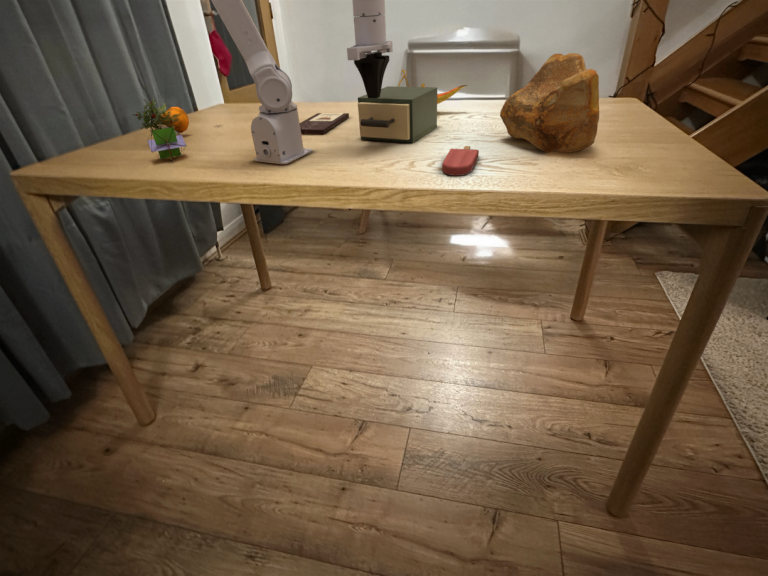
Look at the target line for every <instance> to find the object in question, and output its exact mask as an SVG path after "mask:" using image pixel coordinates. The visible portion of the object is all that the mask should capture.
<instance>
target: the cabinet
mask: <svg viewBox="0 0 768 576" xmlns="http://www.w3.org/2000/svg"><path fill="white" fill-rule="evenodd" d="M437 94H438V87H436V86H435V87H434V86H433V87H432V86H431V87H429V86H425V87H421V86H399V87H398V86H385V87H382V88H381V94H380V97H379V98H368V96H367V93H366V94H363V95H361V96H358V97H357V104H358V103H360V102H364V103H366V102H382V103H408V104H409V106H410V139H409V140H401V139H388V138H374V137H361V136H360V140H368V141H381V142H394V143H405V144H414V143H415V142H417V141H418V140H420V139H421V138H422V137H424V136H425V135H427V134H429V133H430V132H432V131H433V130H434V129H436V128H437V127H438V104H437Z"/></svg>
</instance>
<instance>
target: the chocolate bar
mask: <svg viewBox="0 0 768 576" xmlns="http://www.w3.org/2000/svg"><path fill="white" fill-rule="evenodd" d="M348 118H350V113H349V112H345V113H344V112H317V113H315V114H313V115H312V116H310V117H308V118H306V119H305V120H303V121H300V122H299V123H300V129H301V135H304V134H305V135H325V134H326V133H328V132H329V131H331V130H332V129H334V128H335V127H337V126H338V125H340V124H341V123H343V122H344V121H345V120H347V119H348Z"/></svg>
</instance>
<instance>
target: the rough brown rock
mask: <svg viewBox="0 0 768 576" xmlns="http://www.w3.org/2000/svg"><path fill="white" fill-rule="evenodd" d="M599 87H600V78H599V74H598V72H597V70H595V69H593V68H587V67H586V63H585V58H584V57H583V56H582V55H581V54H579V53H575V52H571V53H570V52H569V53H567V54H563V53H553V54H552V55H550V56H549V57H548V58H547V59H546V61H545V62H544V63H543V65H541V67H540V68H539V70H537V72H536V73H535V74H534V75H533V76H532V78H531V79H530V80H529V81H528V82H527V84H526V85H525V86H523V87H522V88H521V89H519V90H516V91H514V93H512V94H510V96H509V97H508V98H507V99H506V100H505V101H504V104H503V105H502V107H501V109H500V112H499V117H500V119H501V120H502V123H503V124H504V126H505V128H506V131H507V135H509V136H510V137H512V138H514V139H521V140H522V139H524V140H526V141H527V142H529V143H530V144H532V145H533V146H534V147H535V148H537V149H539V150H540V151H543V152H545V153H551V152H553V151H558V152H559V153H572V152H576V151H581V150H585V149H587V148H589V147H591V146H592V145H593V144H594V143H595V140H596V136H597V133H598V128H599V121H600V88H599Z"/></svg>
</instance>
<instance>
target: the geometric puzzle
mask: <svg viewBox="0 0 768 576" xmlns="http://www.w3.org/2000/svg"><path fill="white" fill-rule="evenodd" d="M160 126H161V129H156V130H151V129H150V130H151V132H150V131H149V132H150V133H149V134H150V136H148V139H147V140H146V142H147V143H148V147H149V149H150V153H151V154H153V155H155V153H156V152H157V153H156V156H158V158H159V159H160V160H162V161H164V160H165V159H169V158H171V159H170V161H171V162H175V160H177V159H179V157H182V156H183V155H182V154H183V153H184V151H185V150H186V147H187V143H186V141H185V139H184V137H183V134H182V133H178V132H177V131H175V130H174V129H175V128H174V127H170V126H169V127H167V126H164V125H160ZM158 127H159V125H158ZM182 148H183V149H182Z"/></svg>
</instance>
